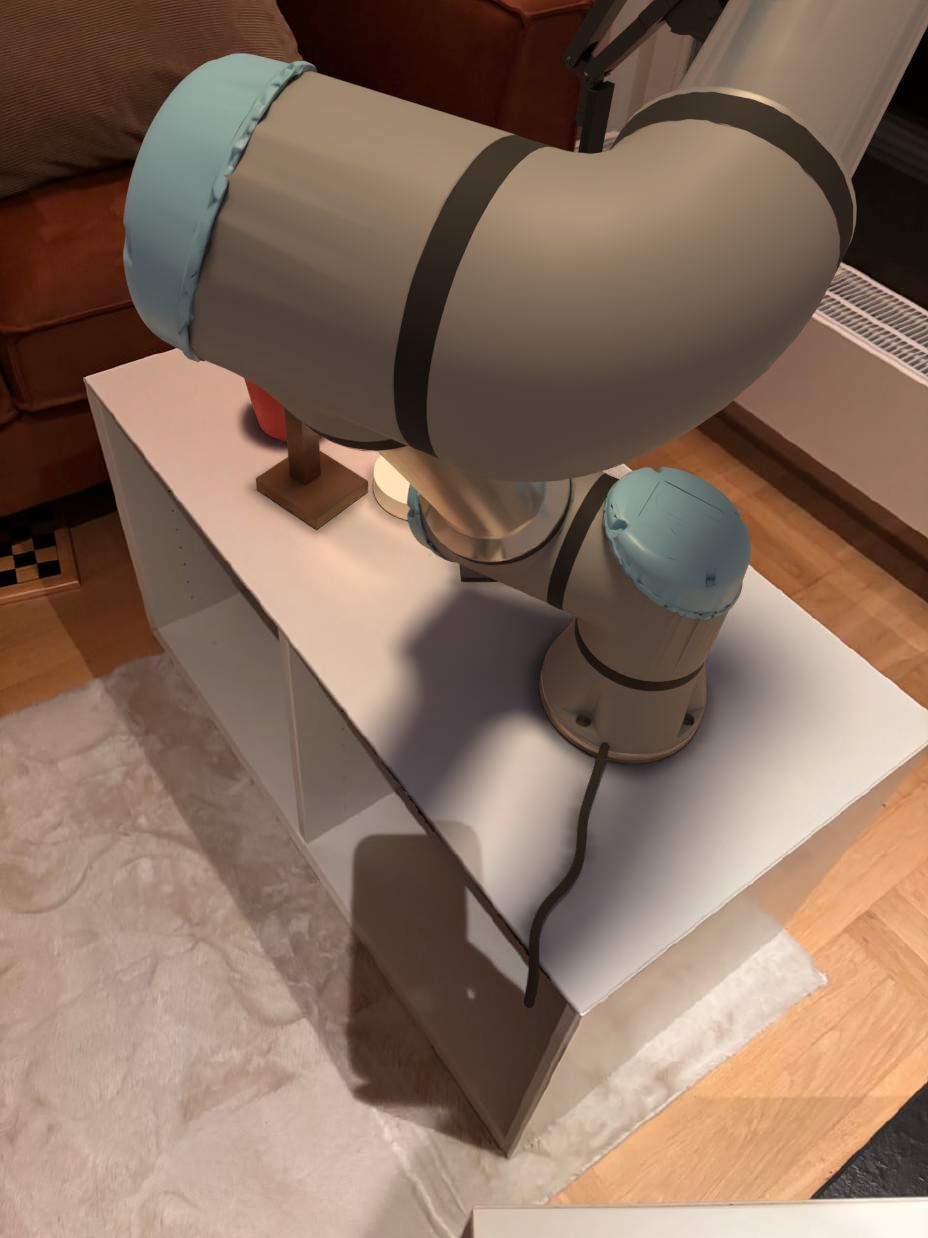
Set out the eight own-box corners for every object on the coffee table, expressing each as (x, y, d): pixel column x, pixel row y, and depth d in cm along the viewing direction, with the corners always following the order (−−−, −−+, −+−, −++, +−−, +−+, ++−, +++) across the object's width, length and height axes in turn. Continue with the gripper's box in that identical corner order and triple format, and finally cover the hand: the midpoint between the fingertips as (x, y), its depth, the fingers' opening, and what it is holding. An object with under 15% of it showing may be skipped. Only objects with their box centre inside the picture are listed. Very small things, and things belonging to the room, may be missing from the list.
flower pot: (357, 414, 110) (357, 343, 102) (301, 463, 103) (295, 392, 96) (286, 380, 112) (280, 309, 105) (226, 427, 106) (215, 355, 99)
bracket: (507, 426, 110) (514, 379, 105) (550, 470, 106) (560, 423, 101) (359, 479, 102) (359, 431, 97) (399, 528, 98) (401, 481, 93)
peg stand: (425, 527, 98) (447, 208, 72) (374, 568, 94) (377, 244, 67) (308, 453, 104) (289, 133, 78) (256, 489, 100) (216, 163, 73)
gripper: (941, -88, 57) (814, 239, 73) (604, -177, 66) (557, 133, 82) (897, -66, 53) (772, 275, 69) (543, -165, 62) (506, 159, 78)
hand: (655, 199), depth 76 cm, fingers open, 13 cm apart
